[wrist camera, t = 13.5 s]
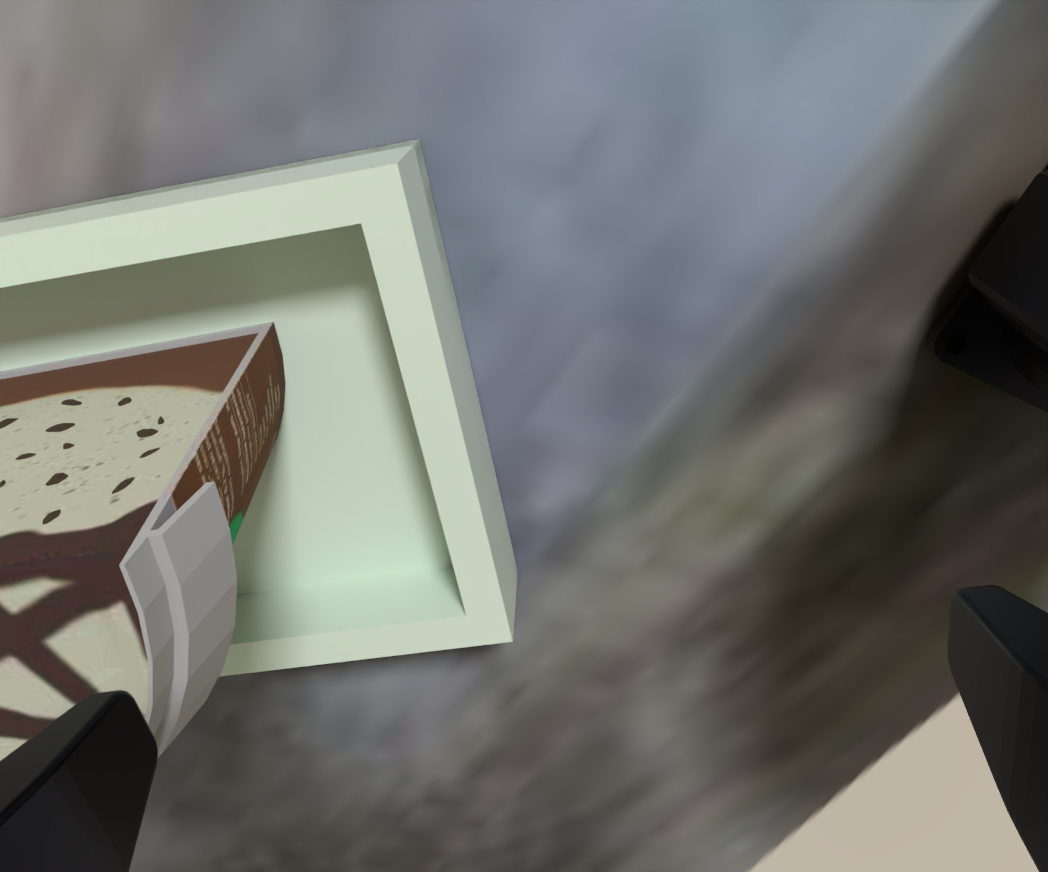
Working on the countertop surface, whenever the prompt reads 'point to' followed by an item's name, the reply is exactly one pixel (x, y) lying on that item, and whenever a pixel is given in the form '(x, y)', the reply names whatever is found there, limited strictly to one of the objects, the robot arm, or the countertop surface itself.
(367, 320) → the tray
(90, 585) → the food container
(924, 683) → the countertop surface
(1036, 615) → the robot arm
